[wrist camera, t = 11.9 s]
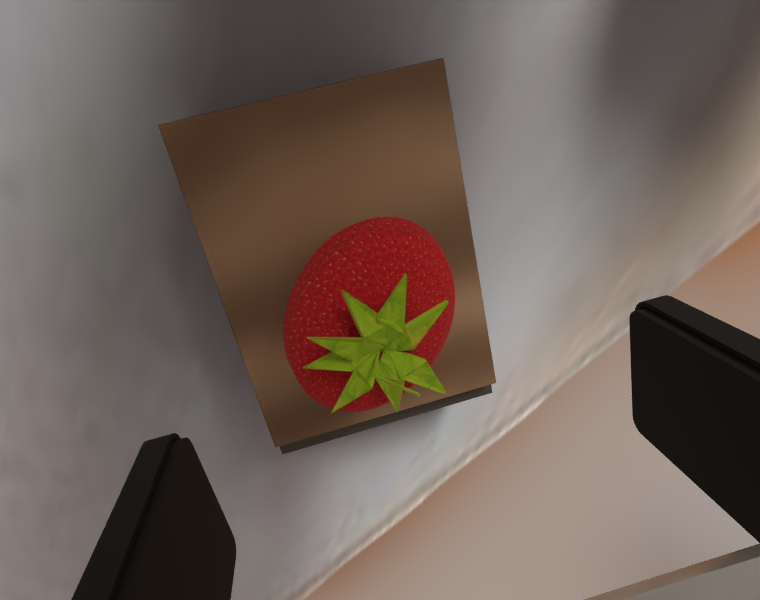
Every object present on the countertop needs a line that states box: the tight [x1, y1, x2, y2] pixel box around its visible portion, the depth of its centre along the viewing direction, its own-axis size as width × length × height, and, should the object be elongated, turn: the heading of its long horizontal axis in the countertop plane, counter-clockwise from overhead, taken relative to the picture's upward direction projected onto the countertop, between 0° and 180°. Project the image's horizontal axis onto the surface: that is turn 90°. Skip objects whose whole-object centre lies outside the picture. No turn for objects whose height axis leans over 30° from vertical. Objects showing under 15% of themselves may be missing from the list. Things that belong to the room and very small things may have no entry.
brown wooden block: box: [158, 58, 496, 454], centre depth 26 cm, size 17×12×6 cm
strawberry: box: [283, 217, 455, 413], centre depth 19 cm, size 6×8×10 cm
